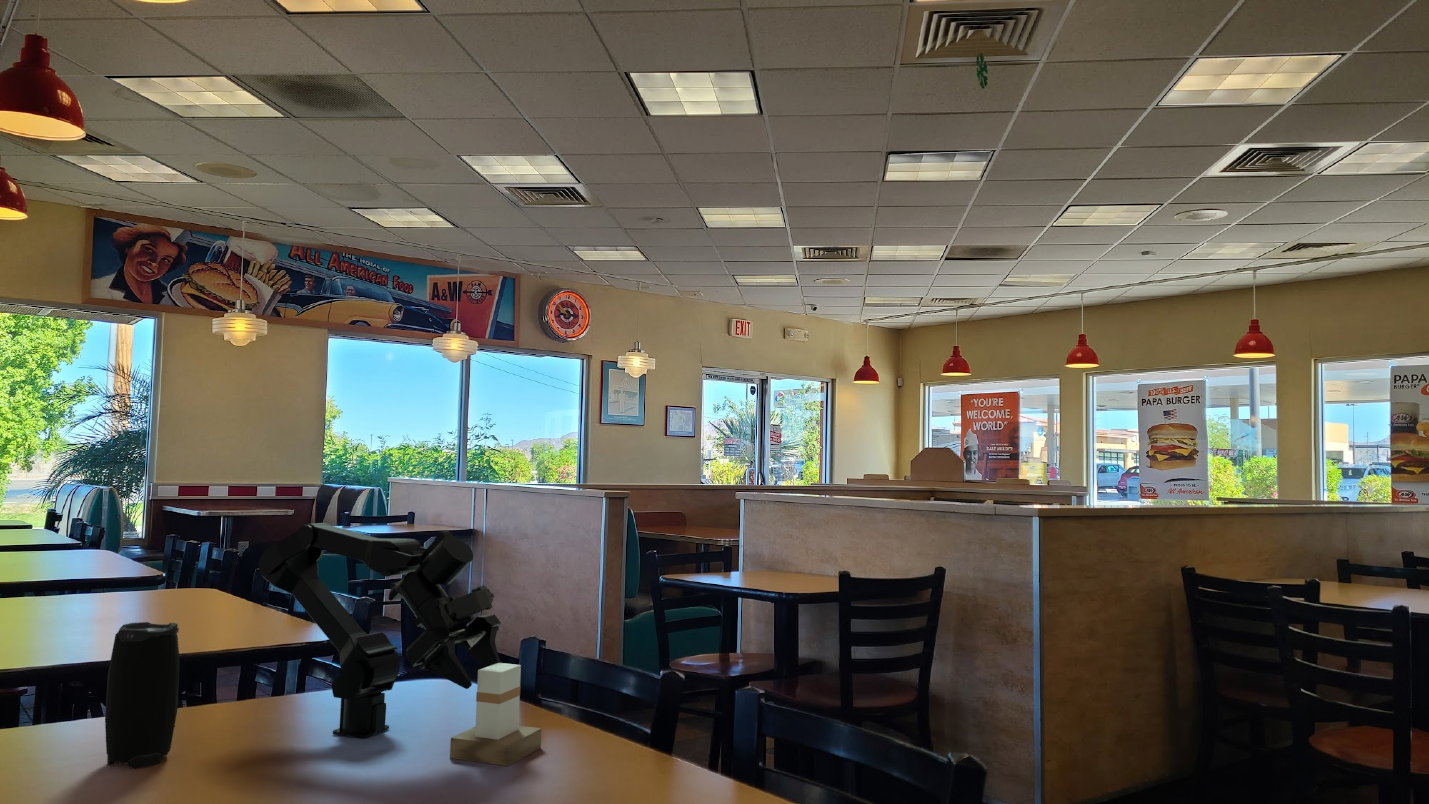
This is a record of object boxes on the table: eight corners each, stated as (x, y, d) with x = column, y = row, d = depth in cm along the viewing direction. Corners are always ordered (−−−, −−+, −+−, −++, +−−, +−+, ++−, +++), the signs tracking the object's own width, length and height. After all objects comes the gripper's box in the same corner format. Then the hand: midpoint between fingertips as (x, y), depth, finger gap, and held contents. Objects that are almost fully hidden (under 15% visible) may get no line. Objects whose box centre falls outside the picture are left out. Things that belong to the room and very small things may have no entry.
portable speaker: (186, 752, 142) (195, 621, 143) (145, 772, 133) (155, 632, 134) (131, 750, 142) (140, 619, 144) (86, 769, 133) (97, 629, 134)
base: (449, 757, 143) (450, 737, 143) (485, 740, 152) (486, 721, 153) (507, 766, 140) (508, 745, 140) (540, 747, 149) (541, 728, 149)
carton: (474, 736, 144) (477, 670, 145) (495, 726, 150) (498, 662, 151) (498, 739, 143) (500, 672, 143) (518, 729, 149) (521, 665, 149)
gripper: (427, 576, 142) (487, 658, 137) (494, 565, 159) (548, 638, 155) (380, 624, 143) (438, 707, 139) (451, 608, 161) (504, 681, 157)
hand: (485, 680), depth 148 cm, fingers open, 9 cm apart
